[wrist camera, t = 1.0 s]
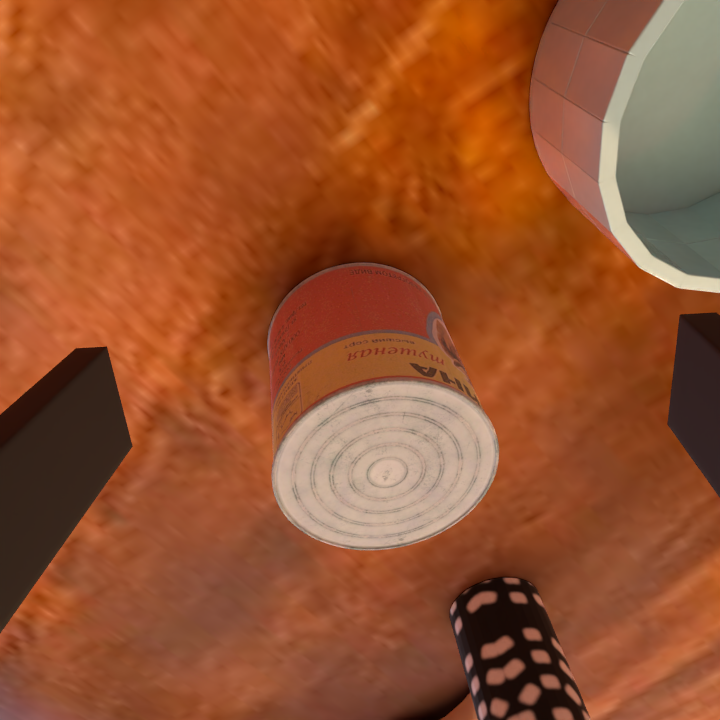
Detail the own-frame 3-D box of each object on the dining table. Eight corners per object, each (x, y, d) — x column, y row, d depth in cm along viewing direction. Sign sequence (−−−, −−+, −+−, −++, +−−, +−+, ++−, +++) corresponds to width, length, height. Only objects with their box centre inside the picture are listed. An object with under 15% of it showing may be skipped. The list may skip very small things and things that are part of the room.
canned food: (465, 371, 45) (524, 501, 36) (315, 435, 47) (331, 577, 37) (406, 231, 39) (458, 342, 29) (234, 310, 40) (228, 441, 31)
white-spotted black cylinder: (437, 633, 62) (503, 896, 46) (467, 574, 58) (552, 841, 41) (519, 636, 64) (610, 889, 48) (553, 579, 60) (667, 836, 43)
